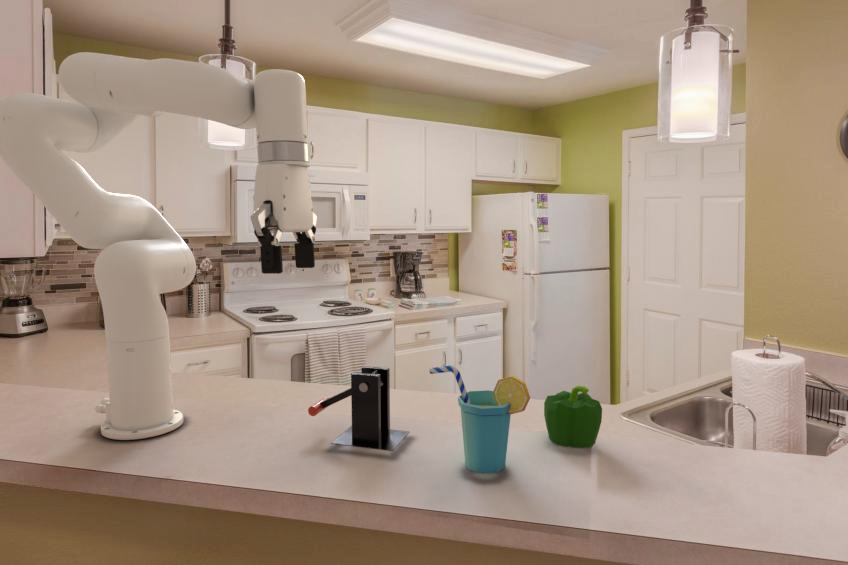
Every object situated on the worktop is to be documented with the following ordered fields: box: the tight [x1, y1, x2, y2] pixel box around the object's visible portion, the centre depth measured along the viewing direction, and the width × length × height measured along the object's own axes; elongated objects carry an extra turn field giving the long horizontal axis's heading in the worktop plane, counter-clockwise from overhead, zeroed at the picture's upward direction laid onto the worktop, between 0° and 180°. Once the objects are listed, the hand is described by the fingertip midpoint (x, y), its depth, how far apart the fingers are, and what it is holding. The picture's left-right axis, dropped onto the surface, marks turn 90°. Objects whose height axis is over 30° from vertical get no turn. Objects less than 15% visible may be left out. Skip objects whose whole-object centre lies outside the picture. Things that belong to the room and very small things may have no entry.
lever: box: [307, 370, 384, 417], centre depth 90 cm, size 12×5×2 cm, turn 71°
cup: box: [428, 364, 531, 475], centre depth 79 cm, size 14×8×15 cm, turn 76°
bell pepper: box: [543, 385, 603, 449], centre depth 88 cm, size 8×8×10 cm
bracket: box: [331, 365, 410, 452], centre depth 89 cm, size 10×8×12 cm
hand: (289, 270), depth 88 cm, fingers open, 9 cm apart
